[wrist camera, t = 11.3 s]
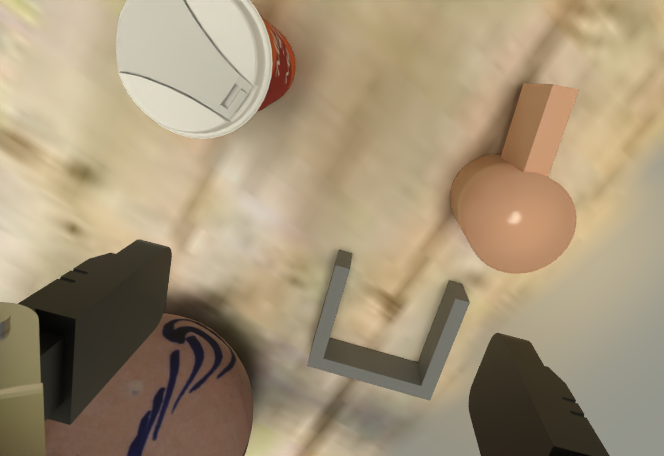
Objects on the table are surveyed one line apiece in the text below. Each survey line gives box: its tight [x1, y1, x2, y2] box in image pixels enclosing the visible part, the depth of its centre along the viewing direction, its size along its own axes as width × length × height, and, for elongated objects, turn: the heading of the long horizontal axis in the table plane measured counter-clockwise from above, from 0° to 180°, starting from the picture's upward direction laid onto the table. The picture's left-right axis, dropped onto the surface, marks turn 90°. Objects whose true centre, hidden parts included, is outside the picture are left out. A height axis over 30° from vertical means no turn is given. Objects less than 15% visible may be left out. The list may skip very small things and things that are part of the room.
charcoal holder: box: [307, 250, 470, 400], centre depth 41 cm, size 10×11×4 cm
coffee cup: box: [116, 0, 295, 139], centre depth 30 cm, size 8×8×15 cm
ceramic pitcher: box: [44, 313, 253, 456], centre depth 34 cm, size 18×21×25 cm
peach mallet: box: [450, 83, 579, 273], centre depth 33 cm, size 12×7×8 cm, turn 169°
